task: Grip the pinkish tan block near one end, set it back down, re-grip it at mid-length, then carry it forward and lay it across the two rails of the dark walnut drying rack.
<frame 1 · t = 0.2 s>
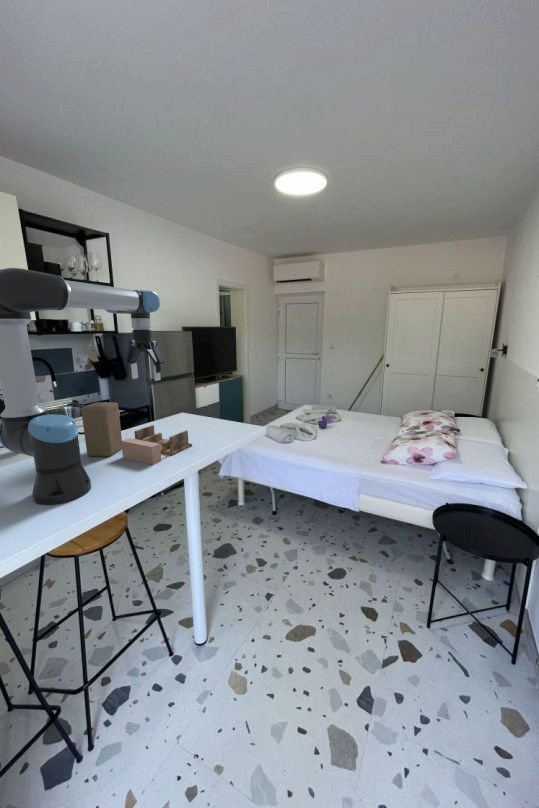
hand: (146, 379, 144), 27 cm above the table, fingers open, 13 cm apart
rack: (162, 446, 141), on the table
pinkish tan block: (142, 459, 127), on the table
wooden block: (105, 453, 135), on the table
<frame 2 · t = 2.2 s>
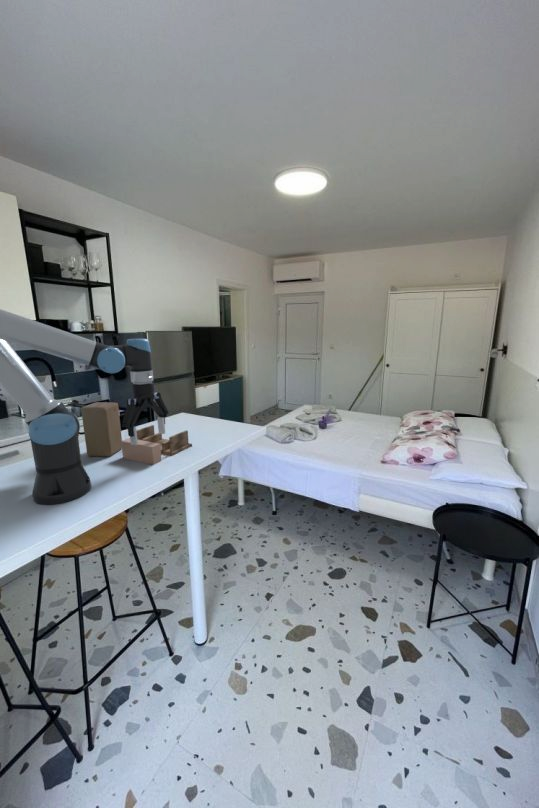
hand: (148, 438, 124), 9 cm above the table, fingers open, 13 cm apart
nothing on the table moved.
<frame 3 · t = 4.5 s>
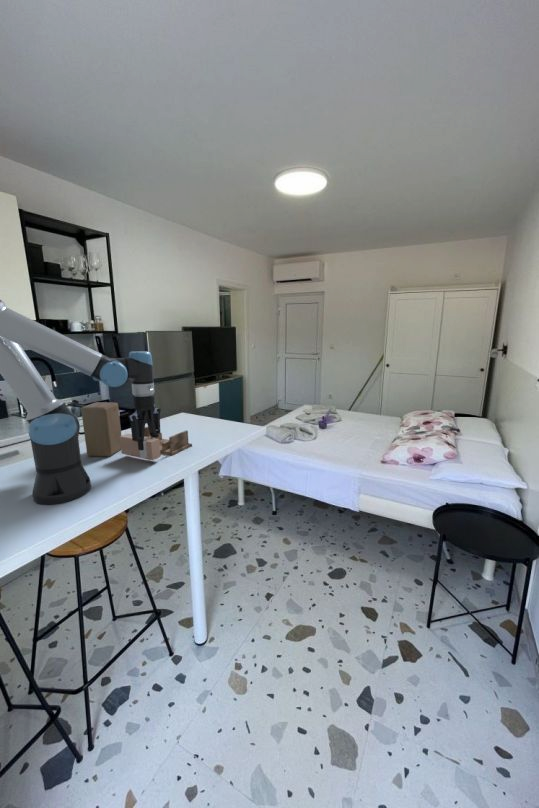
hand: (148, 455, 125), 2 cm above the table, fingers closed on pinkish tan block, 4 cm apart
pinkish tan block: (140, 455, 127), point 2 cm above the table, touching gripper
everything else where it was.
when the fingers open (0 cm above the table, at t = 6.5 s): pinkish tan block stays where it is, on the table.
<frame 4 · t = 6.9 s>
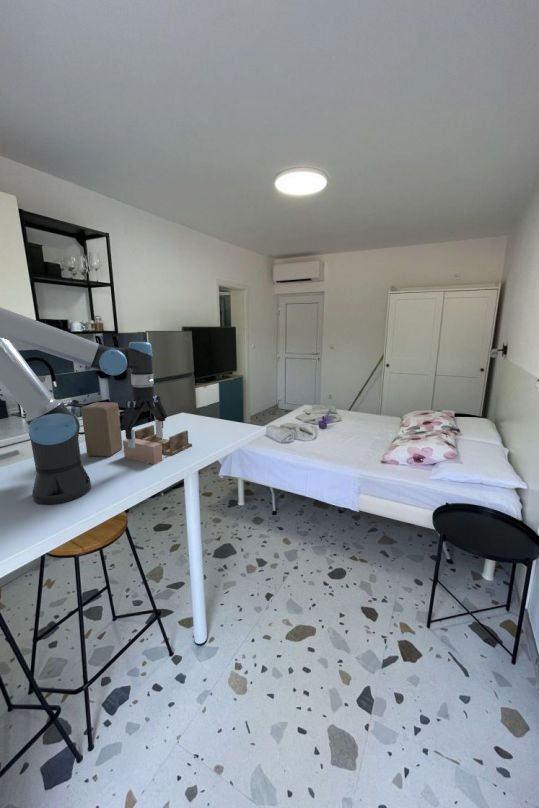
hand: (146, 442, 124), 8 cm above the table, fingers open, 13 cm apart
pinkish tan block: (143, 459, 128), on the table
everything else where it was.
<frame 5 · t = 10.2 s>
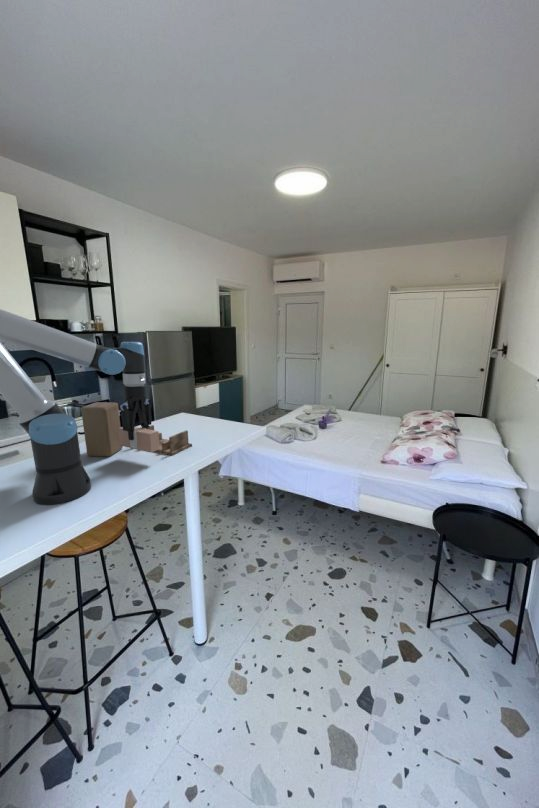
hand: (138, 445, 126), 6 cm above the table, fingers closed on pinkish tan block, 4 cm apart
pinkish tan block: (139, 447, 126), point 5 cm above the table, touching gripper
everything else where it was.
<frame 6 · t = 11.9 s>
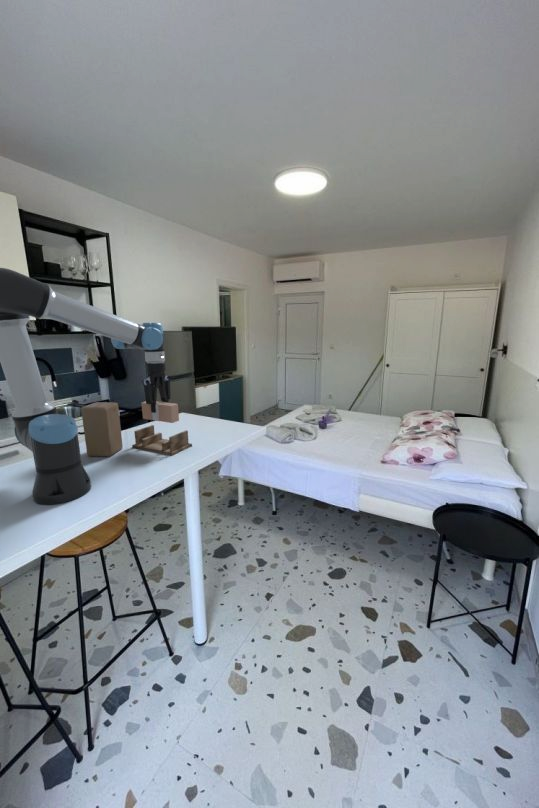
hand: (160, 418, 138), 12 cm above the table, fingers closed on pinkish tan block, 4 cm apart
pinkish tan block: (160, 419, 138), point 12 cm above the table, touching gripper
everything else where it was.
when the fingers open (4 cm above the table, at t = 13.5 s): pinkish tan block stays where it is, resting on rack.
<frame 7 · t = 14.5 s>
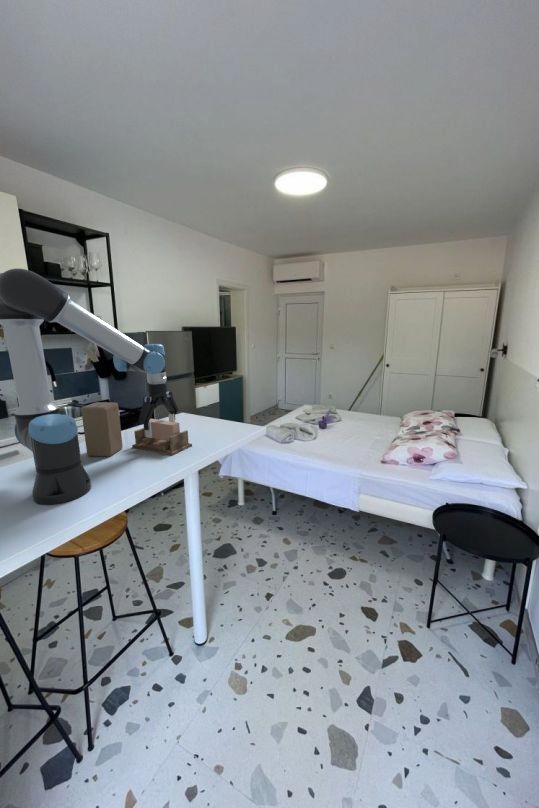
hand: (161, 432, 139), 6 cm above the table, fingers open, 13 cm apart
pinkish tan block: (162, 437, 140), point 4 cm above the table, touching rack
everything else where it was.
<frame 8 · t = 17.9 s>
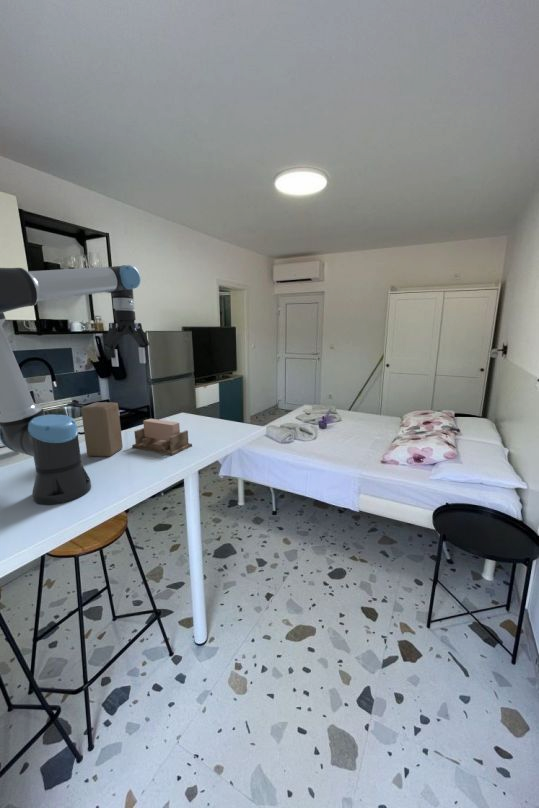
hand: (129, 364, 134), 35 cm above the table, fingers open, 13 cm apart
nothing on the table moved.
at the end: pinkish tan block inside the target area on the rack (0.3 cm from its centre), point 4.0 cm above the rack's base; pinkish tan block tilted 0°; the gripper is holding nothing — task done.
